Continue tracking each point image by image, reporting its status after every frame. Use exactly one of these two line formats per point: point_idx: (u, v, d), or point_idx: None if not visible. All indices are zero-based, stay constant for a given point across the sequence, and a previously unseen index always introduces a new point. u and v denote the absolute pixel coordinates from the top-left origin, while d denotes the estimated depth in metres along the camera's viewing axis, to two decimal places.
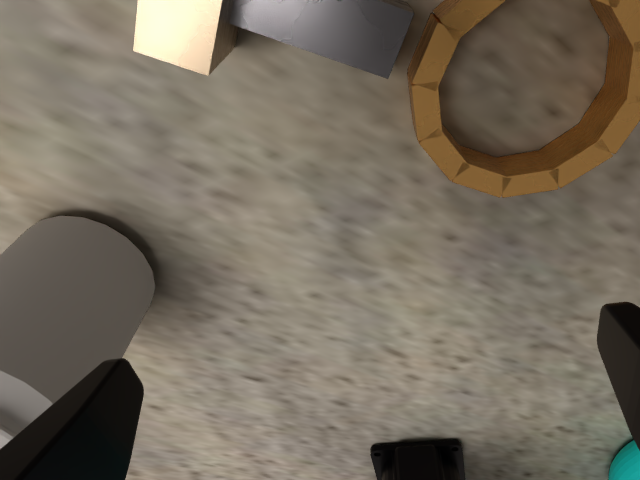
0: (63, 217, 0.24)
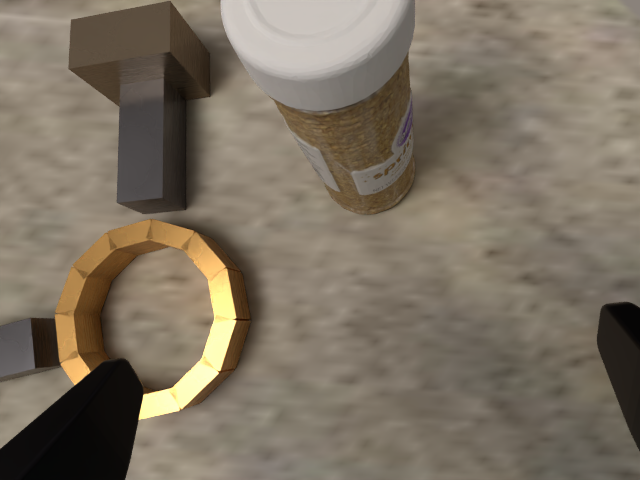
0: None
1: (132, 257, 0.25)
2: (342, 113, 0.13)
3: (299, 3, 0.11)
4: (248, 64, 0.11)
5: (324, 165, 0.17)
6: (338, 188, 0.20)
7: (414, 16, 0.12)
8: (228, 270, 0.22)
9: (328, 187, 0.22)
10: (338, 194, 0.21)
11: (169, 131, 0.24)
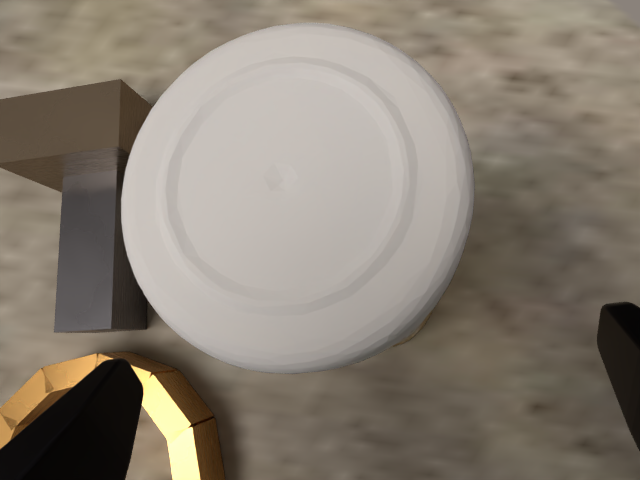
0: None
1: None
2: None
3: (258, 223, 0.06)
4: None
5: None
6: None
7: None
8: (194, 428, 0.17)
9: None
10: None
11: None
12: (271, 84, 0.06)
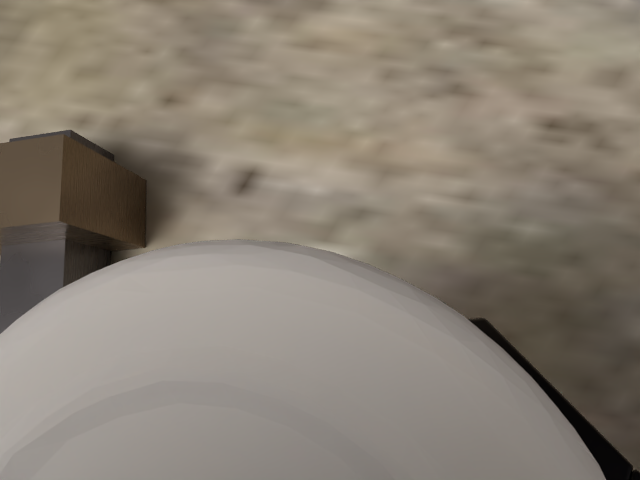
0: None
1: None
2: None
3: None
4: None
5: None
6: None
7: None
8: None
9: None
10: None
11: None
12: (171, 416, 0.03)
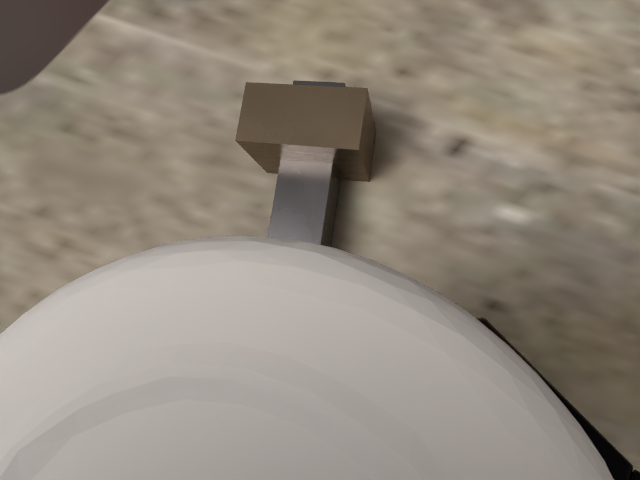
0: None
1: None
2: None
3: None
4: None
5: None
6: None
7: None
8: None
9: None
10: None
11: (326, 223, 0.21)
12: (177, 413, 0.03)
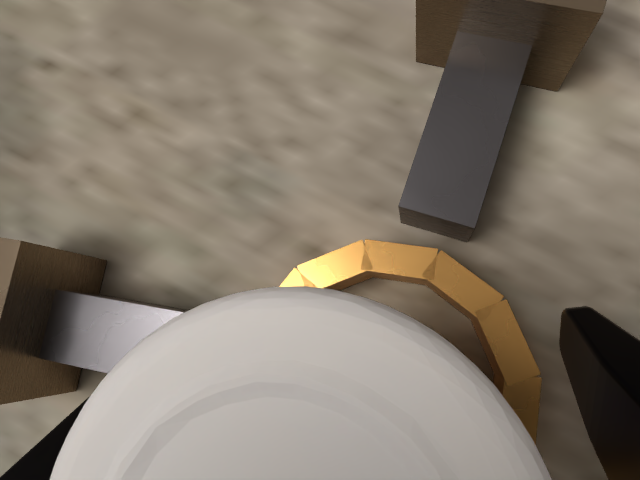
0: None
1: (367, 278, 0.17)
2: None
3: None
4: None
5: None
6: None
7: None
8: None
9: None
10: None
11: None
12: (261, 405, 0.04)
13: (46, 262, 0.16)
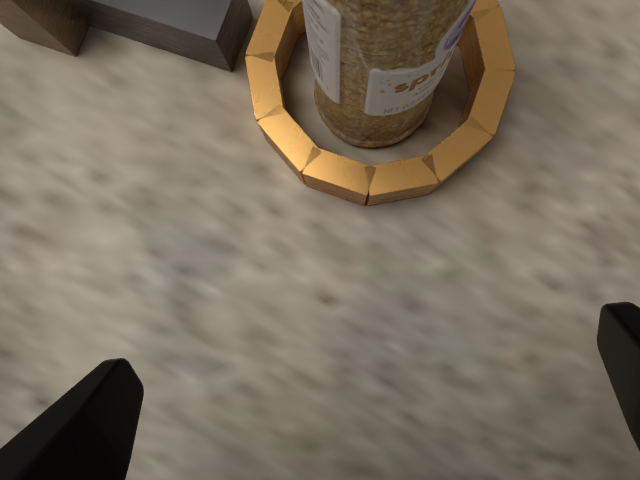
0: None
1: None
2: None
3: None
4: None
5: (336, 48, 0.12)
6: (339, 97, 0.14)
7: None
8: (513, 76, 0.16)
9: (321, 97, 0.16)
10: (333, 109, 0.16)
11: None
12: None
13: None
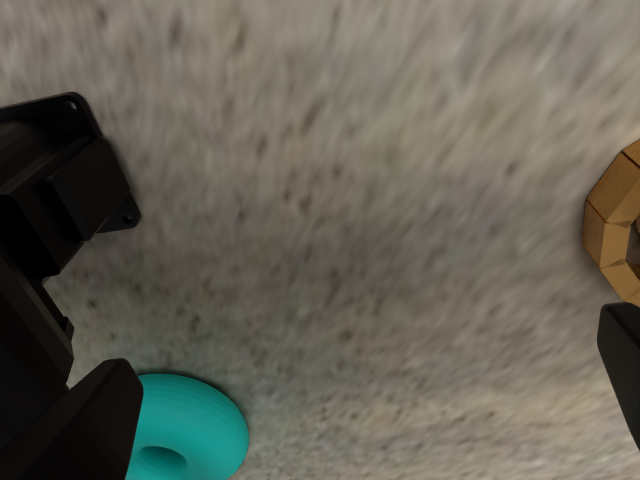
0: None
1: None
2: None
3: None
4: None
5: None
6: None
7: None
8: None
9: None
10: None
11: None
12: None
13: None
